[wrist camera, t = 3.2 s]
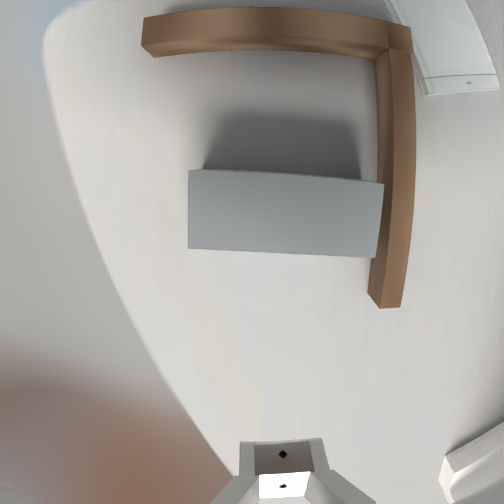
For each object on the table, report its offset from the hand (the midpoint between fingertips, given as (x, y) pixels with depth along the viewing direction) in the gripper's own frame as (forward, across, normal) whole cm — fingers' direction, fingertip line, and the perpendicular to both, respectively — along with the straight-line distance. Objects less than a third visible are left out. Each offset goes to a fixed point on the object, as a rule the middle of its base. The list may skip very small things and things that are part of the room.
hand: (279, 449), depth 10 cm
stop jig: (+12, -1, -10) cm, 16 cm away
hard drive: (+12, -13, -22) cm, 28 cm away
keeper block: (+12, -1, -7) cm, 14 cm away
